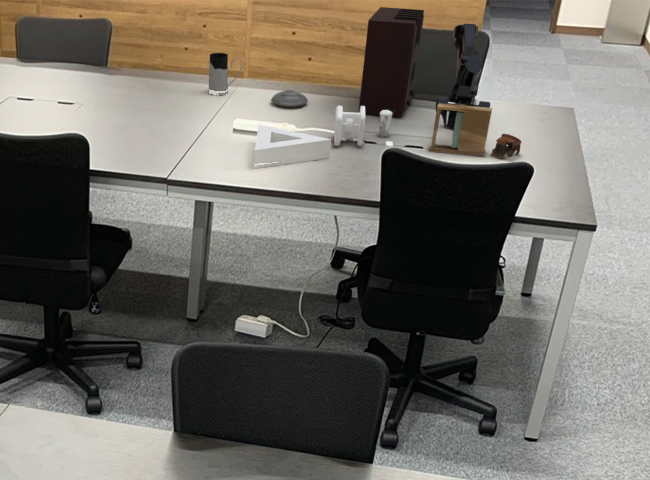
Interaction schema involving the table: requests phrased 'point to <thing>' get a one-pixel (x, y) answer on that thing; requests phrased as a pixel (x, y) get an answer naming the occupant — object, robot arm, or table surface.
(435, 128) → the door frame
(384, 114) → the milkshake
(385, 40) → the radio
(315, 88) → the table surface
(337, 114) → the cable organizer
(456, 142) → the door
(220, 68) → the glass holder
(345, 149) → the table surface
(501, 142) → the brown miniature stool
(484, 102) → the robot arm
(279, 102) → the flying saucer
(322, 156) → the triangle block
